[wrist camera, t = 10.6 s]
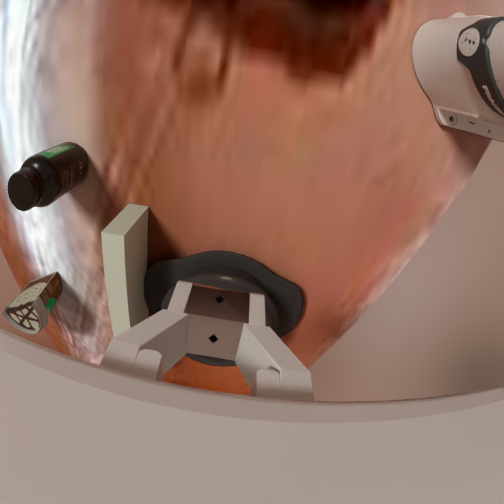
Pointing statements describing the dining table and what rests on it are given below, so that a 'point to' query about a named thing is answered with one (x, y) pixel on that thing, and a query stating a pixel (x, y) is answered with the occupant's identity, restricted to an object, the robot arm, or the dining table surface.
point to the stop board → (126, 267)
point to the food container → (34, 303)
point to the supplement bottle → (48, 176)
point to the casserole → (225, 277)
